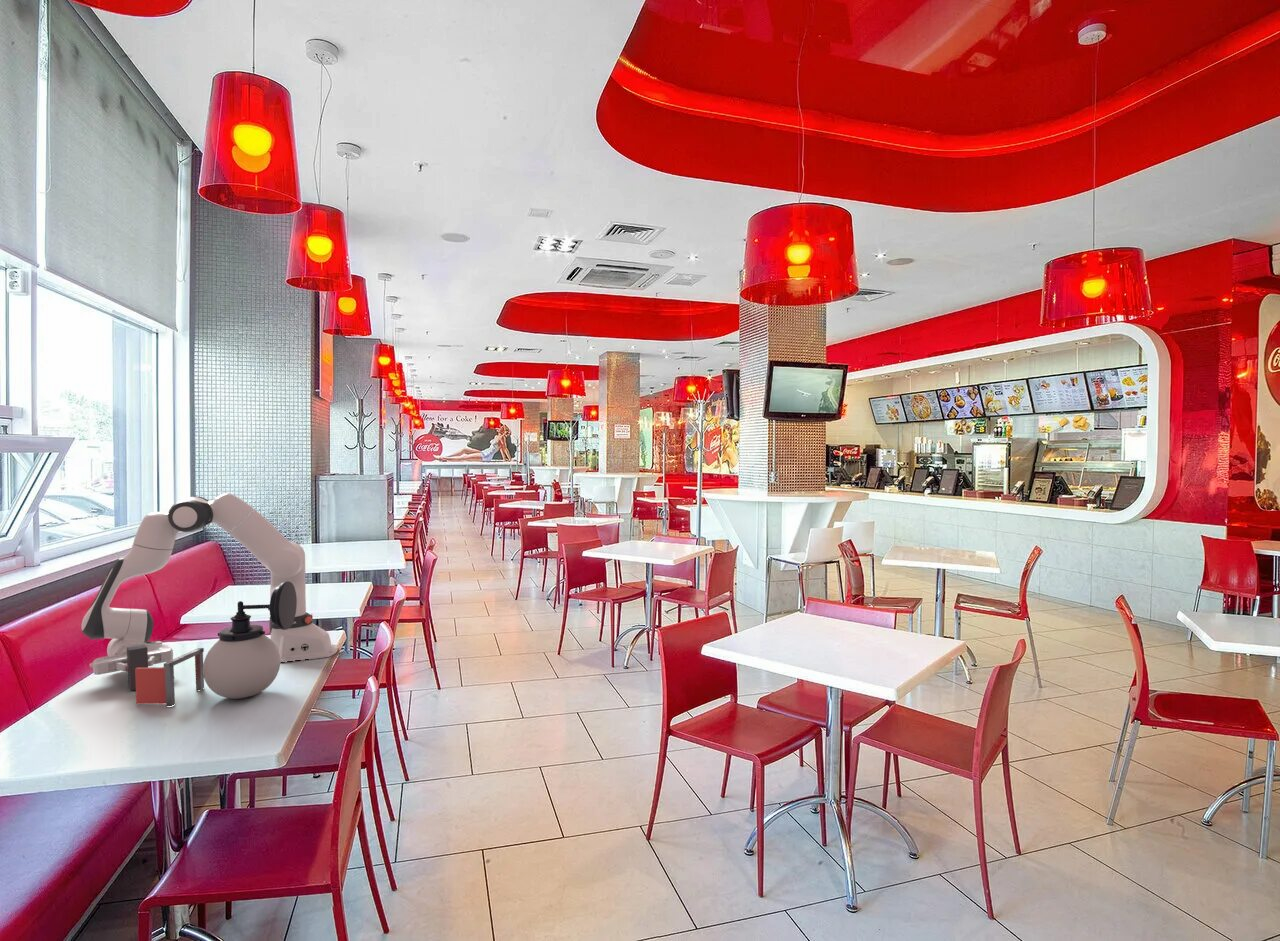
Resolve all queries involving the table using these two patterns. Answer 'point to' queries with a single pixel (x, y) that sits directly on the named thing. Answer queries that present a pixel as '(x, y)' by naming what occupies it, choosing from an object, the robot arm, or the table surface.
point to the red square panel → (150, 685)
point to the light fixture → (249, 649)
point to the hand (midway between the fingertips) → (138, 665)
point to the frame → (170, 673)
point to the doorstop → (136, 662)
